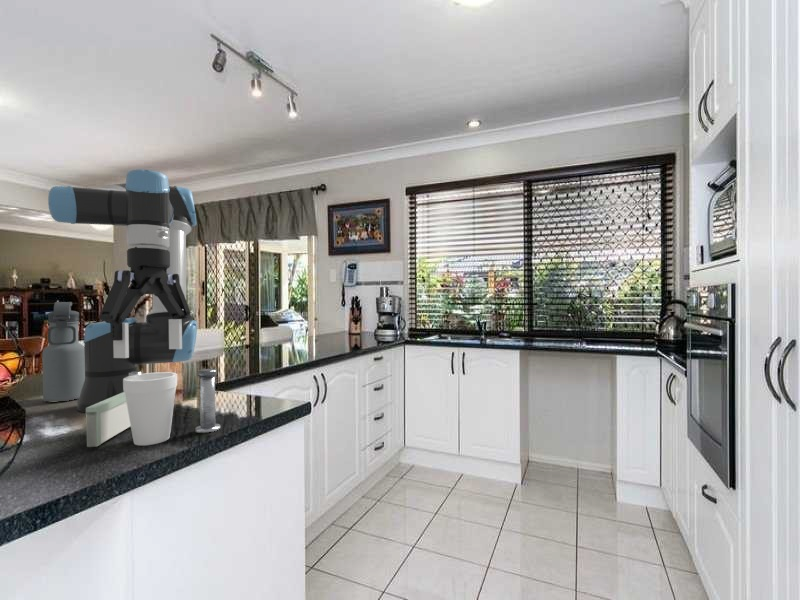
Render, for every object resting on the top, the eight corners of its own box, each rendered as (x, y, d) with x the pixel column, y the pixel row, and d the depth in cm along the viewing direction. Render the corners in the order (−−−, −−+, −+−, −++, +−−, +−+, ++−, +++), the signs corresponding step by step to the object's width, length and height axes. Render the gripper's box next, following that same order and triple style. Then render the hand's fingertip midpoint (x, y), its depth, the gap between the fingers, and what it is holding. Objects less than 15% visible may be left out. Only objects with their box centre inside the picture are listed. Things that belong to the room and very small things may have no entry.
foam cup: (153, 449, 80) (152, 381, 80) (112, 446, 82) (111, 380, 82) (187, 433, 89) (186, 372, 89) (150, 431, 91) (149, 371, 91)
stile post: (190, 432, 90) (189, 372, 90) (205, 425, 95) (205, 368, 95) (210, 434, 89) (209, 372, 89) (225, 426, 94) (224, 368, 94)
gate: (127, 423, 94) (126, 390, 94) (136, 423, 95) (136, 390, 94) (86, 446, 80) (85, 408, 80) (97, 446, 80) (97, 407, 80)
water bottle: (84, 400, 120) (83, 302, 119) (40, 405, 114) (38, 302, 114) (87, 393, 128) (86, 301, 128) (46, 397, 123) (44, 302, 123)
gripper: (108, 239, 72) (110, 362, 72) (206, 254, 97) (207, 346, 97) (73, 241, 74) (75, 361, 74) (178, 255, 98) (180, 345, 98)
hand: (150, 353), depth 85 cm, fingers open, 13 cm apart
